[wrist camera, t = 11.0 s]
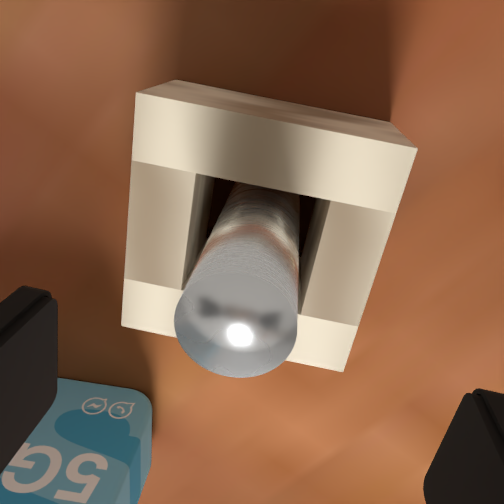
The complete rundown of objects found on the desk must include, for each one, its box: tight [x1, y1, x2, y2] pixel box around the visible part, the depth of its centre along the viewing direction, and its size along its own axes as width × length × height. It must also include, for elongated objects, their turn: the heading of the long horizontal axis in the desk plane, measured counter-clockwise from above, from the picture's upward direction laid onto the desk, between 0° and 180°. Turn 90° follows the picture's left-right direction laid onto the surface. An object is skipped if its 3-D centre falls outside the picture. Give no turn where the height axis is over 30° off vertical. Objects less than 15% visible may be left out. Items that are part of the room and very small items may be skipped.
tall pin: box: [174, 182, 300, 378], centre depth 16 cm, size 3×3×10 cm
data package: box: [0, 378, 152, 504], centre depth 22 cm, size 12×4×12 cm, turn 84°
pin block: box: [121, 80, 418, 372], centre depth 19 cm, size 9×9×5 cm
